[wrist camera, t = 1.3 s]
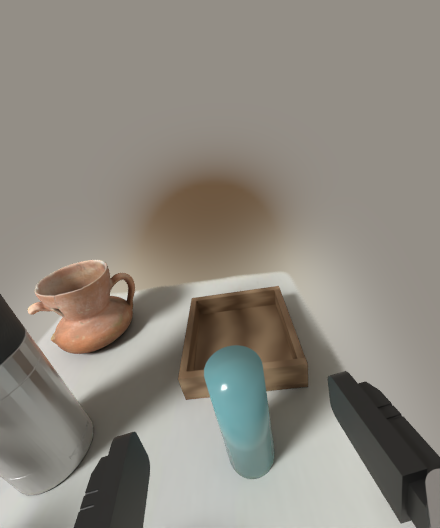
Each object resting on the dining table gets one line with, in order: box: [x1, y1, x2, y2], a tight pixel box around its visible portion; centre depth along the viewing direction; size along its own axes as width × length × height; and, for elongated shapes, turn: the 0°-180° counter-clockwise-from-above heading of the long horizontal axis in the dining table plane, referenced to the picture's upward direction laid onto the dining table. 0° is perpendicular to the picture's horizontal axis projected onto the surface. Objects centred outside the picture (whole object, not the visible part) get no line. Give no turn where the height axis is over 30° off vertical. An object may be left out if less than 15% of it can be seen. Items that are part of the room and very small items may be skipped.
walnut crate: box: [178, 286, 308, 400], centre depth 41 cm, size 17×18×4 cm
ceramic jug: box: [28, 260, 135, 354], centre depth 48 cm, size 18×14×14 cm
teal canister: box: [204, 345, 274, 479], centre depth 25 cm, size 5×5×14 cm
